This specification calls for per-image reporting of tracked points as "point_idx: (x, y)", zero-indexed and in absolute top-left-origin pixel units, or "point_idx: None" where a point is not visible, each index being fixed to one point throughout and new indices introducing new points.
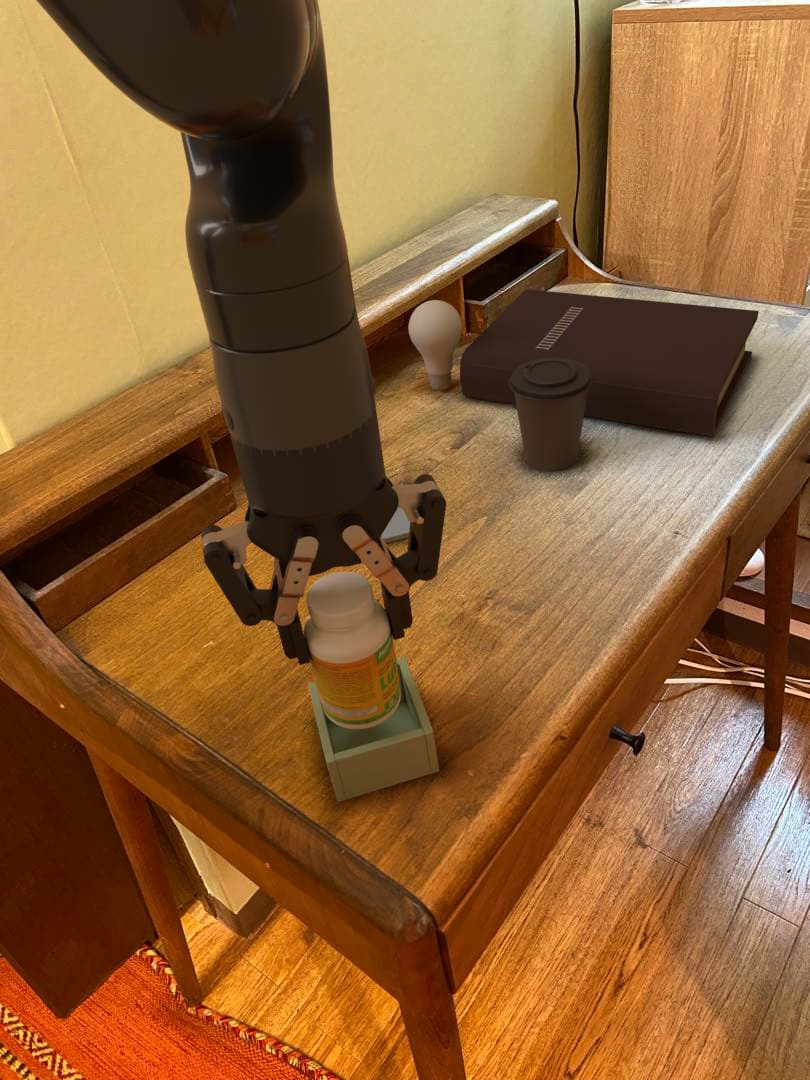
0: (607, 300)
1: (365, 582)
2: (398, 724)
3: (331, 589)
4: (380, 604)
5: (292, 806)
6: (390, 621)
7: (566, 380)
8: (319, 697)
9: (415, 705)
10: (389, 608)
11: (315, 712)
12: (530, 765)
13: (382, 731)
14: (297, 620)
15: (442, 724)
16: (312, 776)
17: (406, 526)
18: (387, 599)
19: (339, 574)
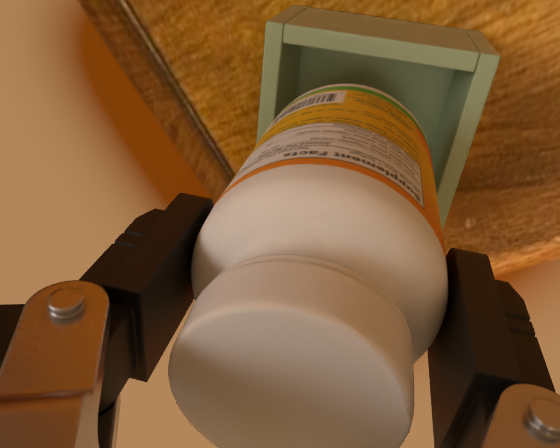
0: None
1: (395, 422)
2: (419, 94)
3: (264, 377)
4: (441, 302)
5: (215, 143)
6: (433, 348)
7: None
8: (278, 74)
9: (439, 192)
10: (433, 419)
11: (260, 107)
12: (553, 256)
13: (386, 93)
14: (140, 370)
15: (489, 124)
16: (253, 111)
17: None
18: (438, 440)
19: (321, 335)
